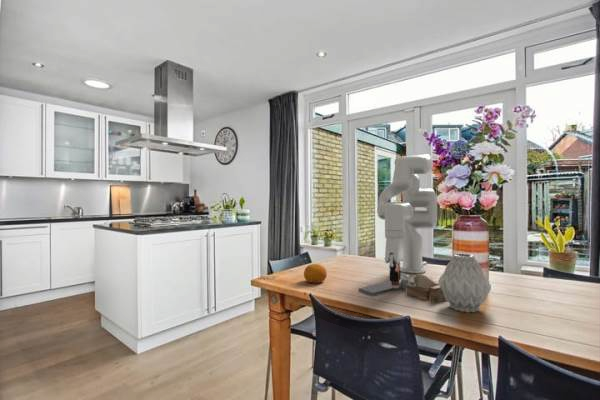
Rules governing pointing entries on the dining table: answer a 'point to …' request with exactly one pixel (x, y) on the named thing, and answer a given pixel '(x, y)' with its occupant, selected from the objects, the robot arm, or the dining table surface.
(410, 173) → the robot arm
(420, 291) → the cradle
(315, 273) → the fruit
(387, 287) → the flat grey bar
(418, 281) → the stone
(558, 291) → the dining table surface
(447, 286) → the vase
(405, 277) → the lever
